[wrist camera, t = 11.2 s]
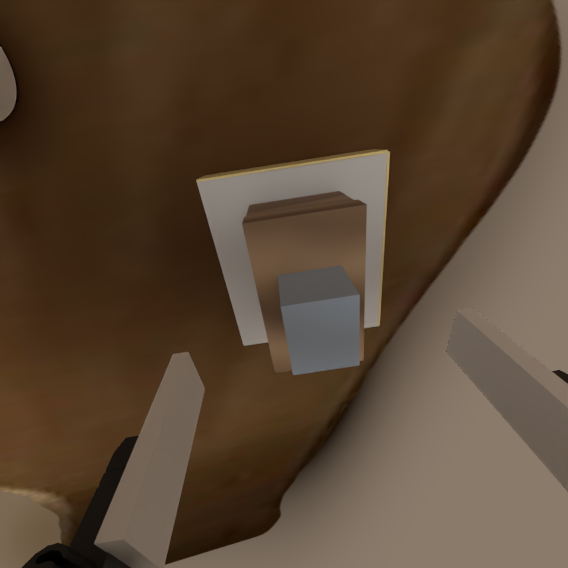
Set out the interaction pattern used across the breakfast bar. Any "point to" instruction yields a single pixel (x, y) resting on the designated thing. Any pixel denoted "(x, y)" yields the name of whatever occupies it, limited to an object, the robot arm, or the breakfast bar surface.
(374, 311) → the dock
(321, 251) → the block
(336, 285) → the blue-grey block
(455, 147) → the breakfast bar surface
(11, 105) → the cup
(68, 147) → the breakfast bar surface
